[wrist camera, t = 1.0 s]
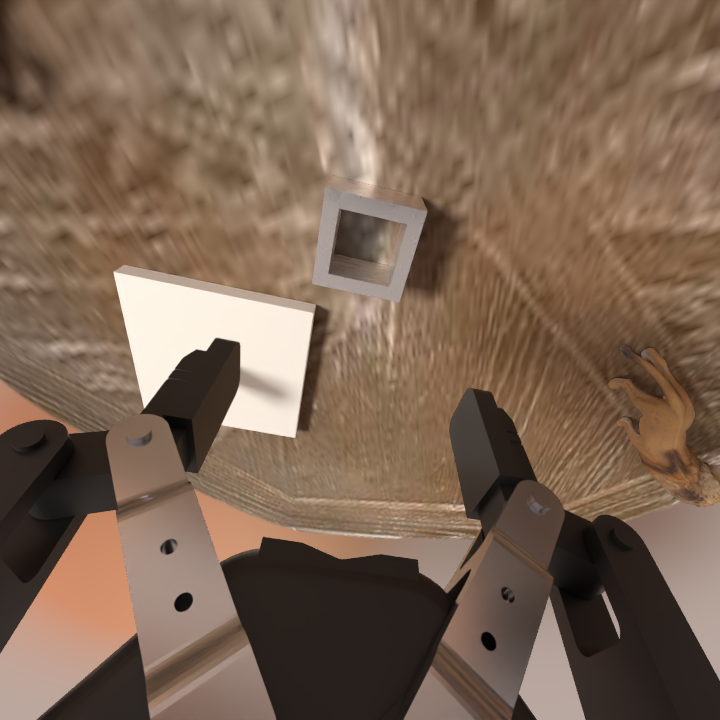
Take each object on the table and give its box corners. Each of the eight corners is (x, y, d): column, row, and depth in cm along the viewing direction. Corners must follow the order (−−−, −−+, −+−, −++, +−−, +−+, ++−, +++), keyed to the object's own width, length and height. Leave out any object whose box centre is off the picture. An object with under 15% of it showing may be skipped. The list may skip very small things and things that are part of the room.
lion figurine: (678, 426, 37) (749, 505, 30) (623, 444, 39) (677, 522, 32) (648, 328, 30) (732, 400, 23) (584, 356, 32) (642, 430, 25)
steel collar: (421, 197, 25) (427, 211, 22) (397, 279, 29) (399, 302, 26) (332, 175, 24) (325, 187, 21) (319, 262, 28) (312, 283, 25)
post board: (316, 304, 30) (297, 364, 24) (297, 427, 40) (280, 495, 33) (124, 264, 29) (46, 315, 22) (152, 401, 39) (103, 467, 32)
